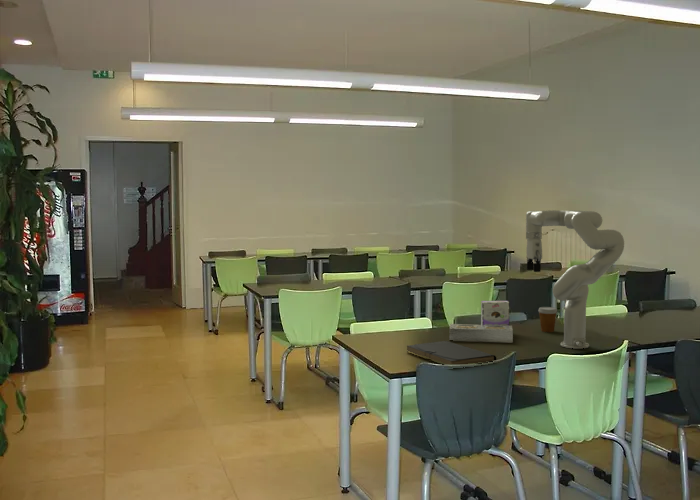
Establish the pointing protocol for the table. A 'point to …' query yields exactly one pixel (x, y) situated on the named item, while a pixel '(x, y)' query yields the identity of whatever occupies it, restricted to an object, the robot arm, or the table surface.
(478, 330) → the label stand
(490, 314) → the candy box
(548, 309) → the disposable coffee cup
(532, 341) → the table surface
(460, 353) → the file folder
